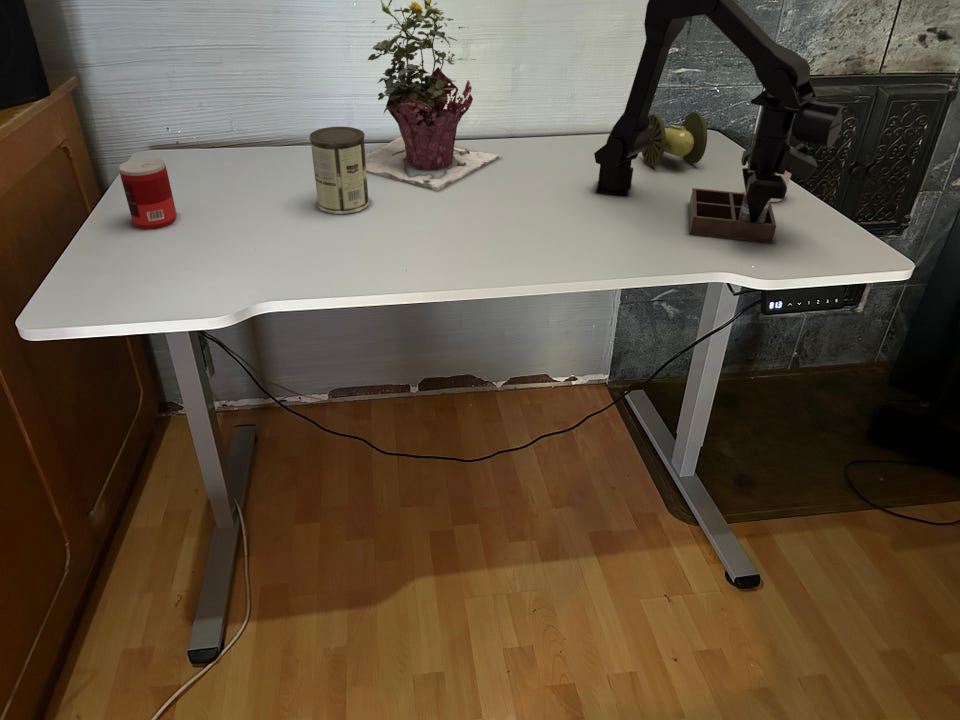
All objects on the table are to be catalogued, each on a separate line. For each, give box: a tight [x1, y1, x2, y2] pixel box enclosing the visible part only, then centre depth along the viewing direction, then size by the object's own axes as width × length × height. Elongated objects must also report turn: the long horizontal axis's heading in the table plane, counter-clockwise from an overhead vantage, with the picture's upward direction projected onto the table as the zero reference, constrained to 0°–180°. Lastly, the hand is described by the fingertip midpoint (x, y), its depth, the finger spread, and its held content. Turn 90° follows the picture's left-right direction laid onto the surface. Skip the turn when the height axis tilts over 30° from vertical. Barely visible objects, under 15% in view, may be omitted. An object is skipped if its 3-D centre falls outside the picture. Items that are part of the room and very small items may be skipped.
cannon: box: [641, 111, 708, 167], centre depth 174 cm, size 25×12×11 cm, turn 13°
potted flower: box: [365, 0, 500, 192], centre depth 161 cm, size 27×25×35 cm
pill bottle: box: [738, 190, 770, 223], centre depth 139 cm, size 5×5×8 cm
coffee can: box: [309, 126, 370, 215], centre depth 145 cm, size 10×10×14 cm
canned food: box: [118, 156, 177, 230], centre depth 138 cm, size 8×8×11 cm
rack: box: [688, 187, 777, 245], centre depth 145 cm, size 15×15×4 cm
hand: (752, 216), depth 140 cm, fingers closed on pill bottle, 5 cm apart
